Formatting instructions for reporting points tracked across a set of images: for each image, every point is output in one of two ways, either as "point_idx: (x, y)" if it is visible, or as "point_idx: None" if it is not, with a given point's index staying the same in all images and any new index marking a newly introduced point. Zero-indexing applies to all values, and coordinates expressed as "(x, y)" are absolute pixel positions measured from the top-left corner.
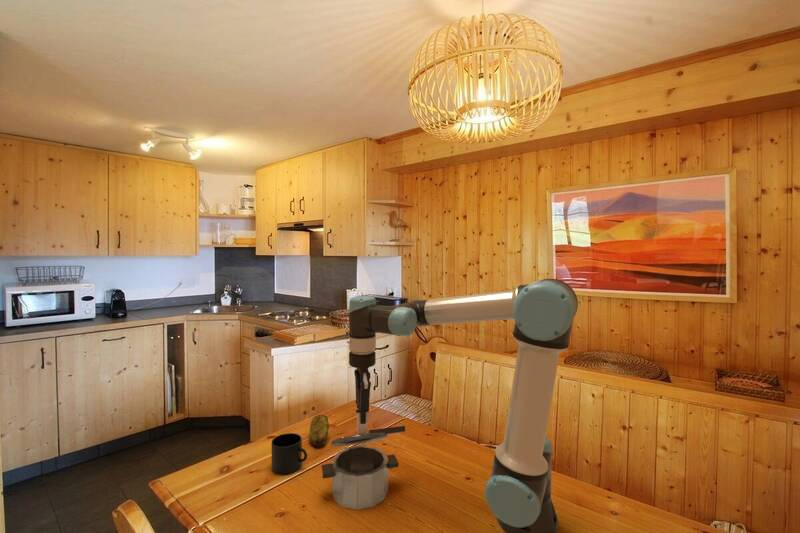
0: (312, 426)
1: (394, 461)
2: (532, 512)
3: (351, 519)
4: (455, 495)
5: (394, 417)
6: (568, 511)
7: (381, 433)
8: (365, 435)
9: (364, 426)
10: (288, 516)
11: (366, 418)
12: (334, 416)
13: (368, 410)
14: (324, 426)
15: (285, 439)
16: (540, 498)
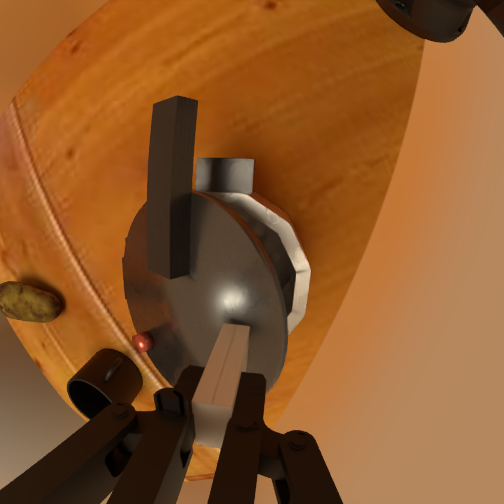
0: (23, 320)
1: (240, 169)
2: None
3: (322, 299)
4: (324, 51)
5: (4, 118)
6: None
7: (256, 250)
8: (281, 346)
9: (244, 359)
10: (266, 394)
11: (238, 377)
12: None
13: (317, 447)
14: (23, 299)
15: (77, 391)
16: None
